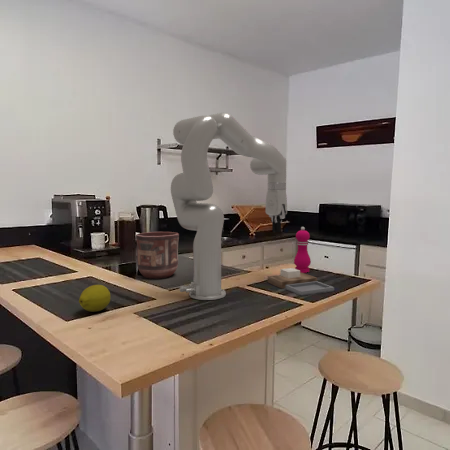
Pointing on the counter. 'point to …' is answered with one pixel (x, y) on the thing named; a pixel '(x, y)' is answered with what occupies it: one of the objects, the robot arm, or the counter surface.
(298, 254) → the pepper mill
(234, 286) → the counter surface
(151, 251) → the pottery
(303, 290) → the tray
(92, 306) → the lemon
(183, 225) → the robot arm
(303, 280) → the walnut plate
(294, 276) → the tile
